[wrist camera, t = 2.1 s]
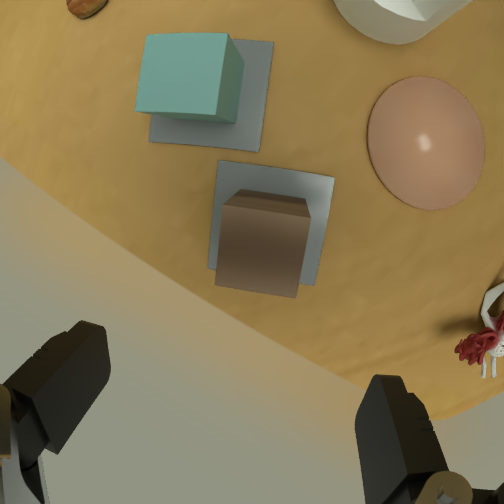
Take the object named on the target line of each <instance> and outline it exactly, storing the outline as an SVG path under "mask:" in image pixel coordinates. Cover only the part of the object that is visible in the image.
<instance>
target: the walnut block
mask: <svg viewBox="0 0 504 504" xmlns="http://www.w3.org/2000/svg"><path fill="white" fill-rule="evenodd" d="M310 223H311V216H310V212H309V209H308V206H307V203H306V199H304V198H298V197H292V196H286V195H279V194H273V193H266V192H259V191H252V190H245V189H240V190H239V191H238V192H237V193H235V194H234V195H233V196H232V197H231V198H230V199H229V200H228V201H226V202H225V203H224V204H223V208H222V217H221V226H220V236H219V246H218V256H217V266H216V277H215V285H217V286H223V287H228V288H234V289H240V290H246V291H252V292H258V293H264V294H271V295H277V296H283V297H290V298H296V295H297V290H298V286H299V281H300V276H301V271H302V265H303V260H304V255H305V250H306V244H307V239H308V234H309V228H310Z"/></svg>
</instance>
